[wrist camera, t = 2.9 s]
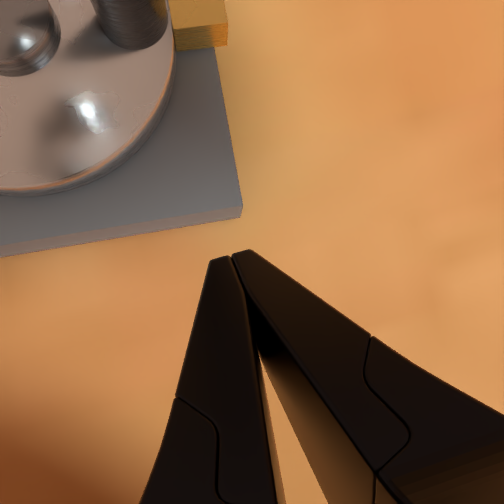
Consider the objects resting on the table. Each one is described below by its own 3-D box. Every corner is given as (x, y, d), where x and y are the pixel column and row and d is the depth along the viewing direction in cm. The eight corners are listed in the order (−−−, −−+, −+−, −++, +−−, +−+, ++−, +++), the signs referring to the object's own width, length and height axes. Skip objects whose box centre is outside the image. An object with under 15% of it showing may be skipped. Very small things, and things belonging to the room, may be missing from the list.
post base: (240, 217, 20) (250, 177, 14) (-93, 273, 19) (-250, 257, 13) (187, -72, 22) (174, -229, 15) (-127, -38, 21) (-284, -194, 14)
